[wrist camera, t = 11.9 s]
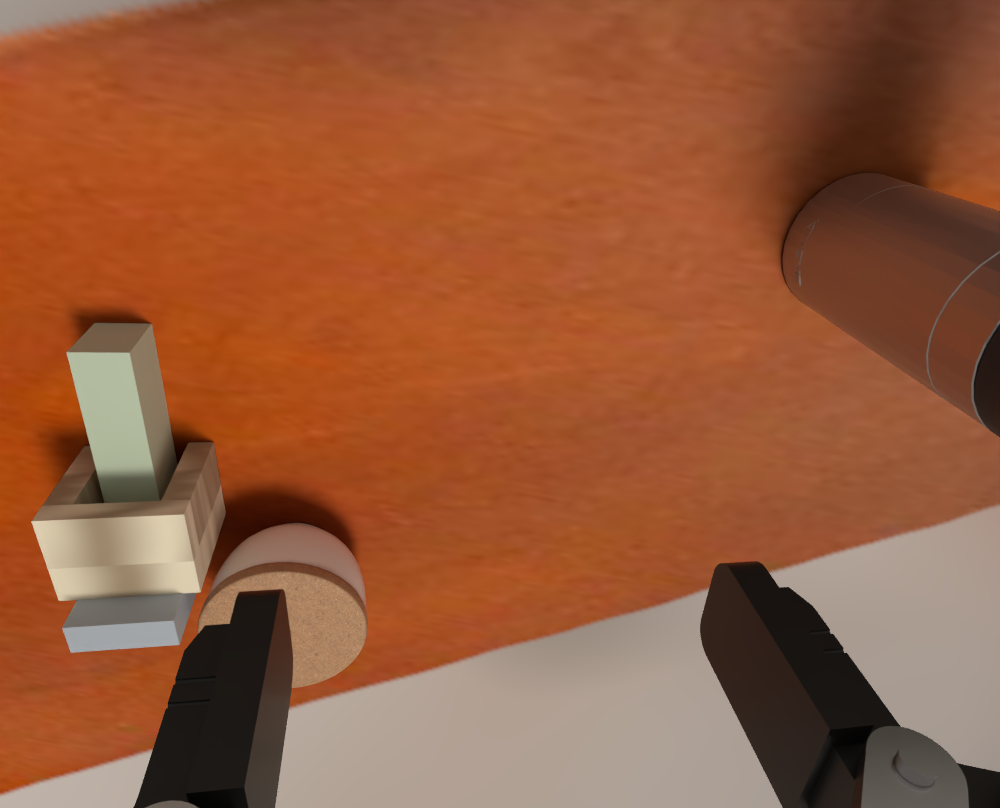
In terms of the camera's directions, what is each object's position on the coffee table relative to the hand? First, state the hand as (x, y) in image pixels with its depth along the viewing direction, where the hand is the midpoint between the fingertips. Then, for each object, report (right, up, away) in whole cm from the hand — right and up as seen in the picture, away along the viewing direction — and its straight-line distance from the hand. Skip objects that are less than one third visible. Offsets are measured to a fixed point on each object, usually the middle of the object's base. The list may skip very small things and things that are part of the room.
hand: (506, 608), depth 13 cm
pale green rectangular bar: (-23, +3, +32) cm, 39 cm away
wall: (-24, -5, +36) cm, 43 cm away
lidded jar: (-15, -7, +39) cm, 43 cm away
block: (-23, -1, +34) cm, 41 cm away
